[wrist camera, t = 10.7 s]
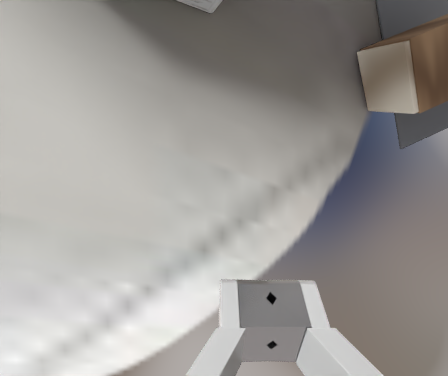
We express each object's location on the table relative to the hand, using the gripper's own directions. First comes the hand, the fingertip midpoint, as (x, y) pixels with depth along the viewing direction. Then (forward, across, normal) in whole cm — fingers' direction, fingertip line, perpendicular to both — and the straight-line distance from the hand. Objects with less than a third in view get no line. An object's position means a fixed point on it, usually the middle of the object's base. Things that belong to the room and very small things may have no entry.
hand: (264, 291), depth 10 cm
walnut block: (+17, -11, -2) cm, 20 cm away
